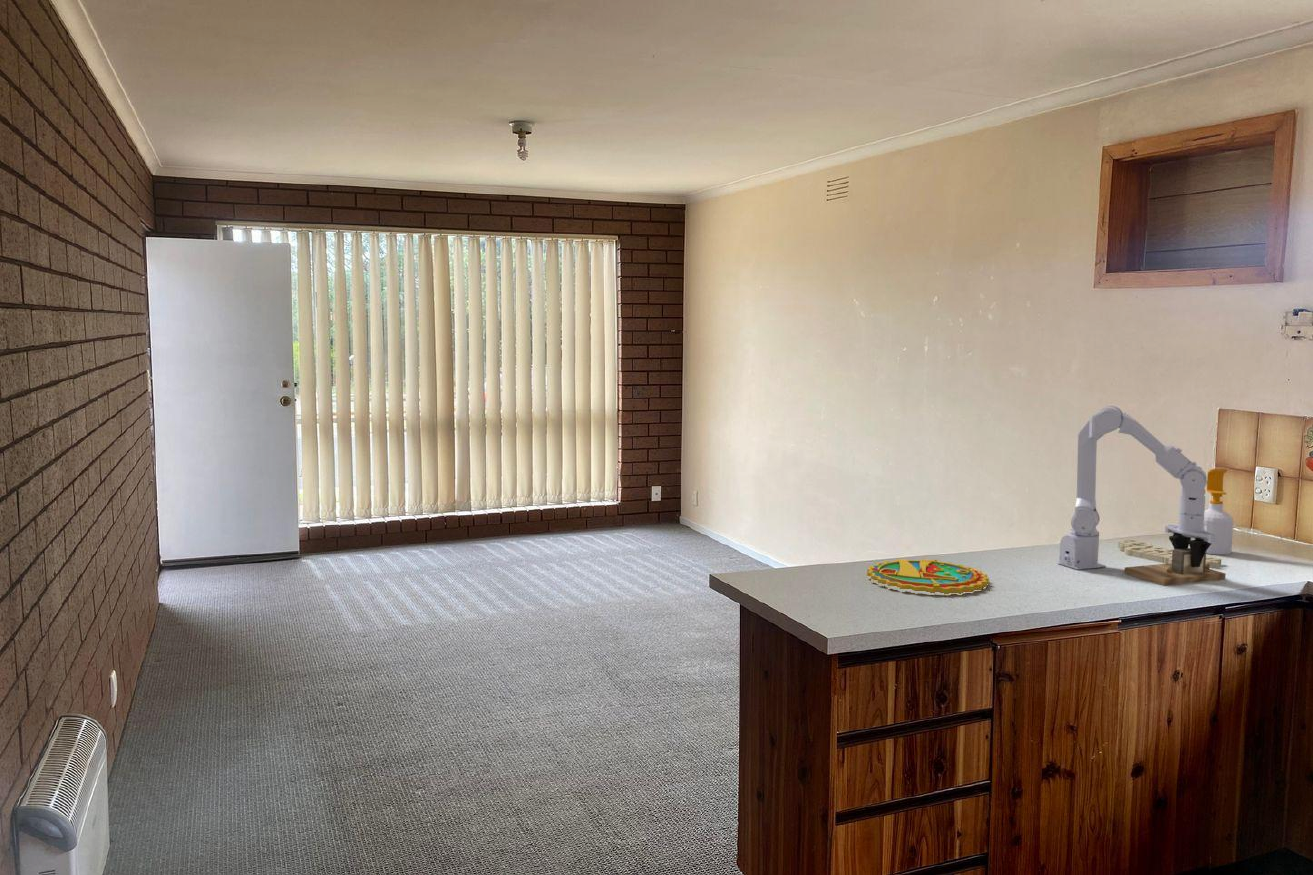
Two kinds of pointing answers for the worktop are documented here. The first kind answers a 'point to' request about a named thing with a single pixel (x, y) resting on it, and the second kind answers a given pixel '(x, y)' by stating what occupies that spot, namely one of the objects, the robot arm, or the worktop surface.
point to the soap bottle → (1218, 515)
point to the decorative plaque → (928, 576)
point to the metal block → (1185, 562)
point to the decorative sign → (1155, 552)
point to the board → (1172, 574)
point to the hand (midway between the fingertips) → (1188, 564)
